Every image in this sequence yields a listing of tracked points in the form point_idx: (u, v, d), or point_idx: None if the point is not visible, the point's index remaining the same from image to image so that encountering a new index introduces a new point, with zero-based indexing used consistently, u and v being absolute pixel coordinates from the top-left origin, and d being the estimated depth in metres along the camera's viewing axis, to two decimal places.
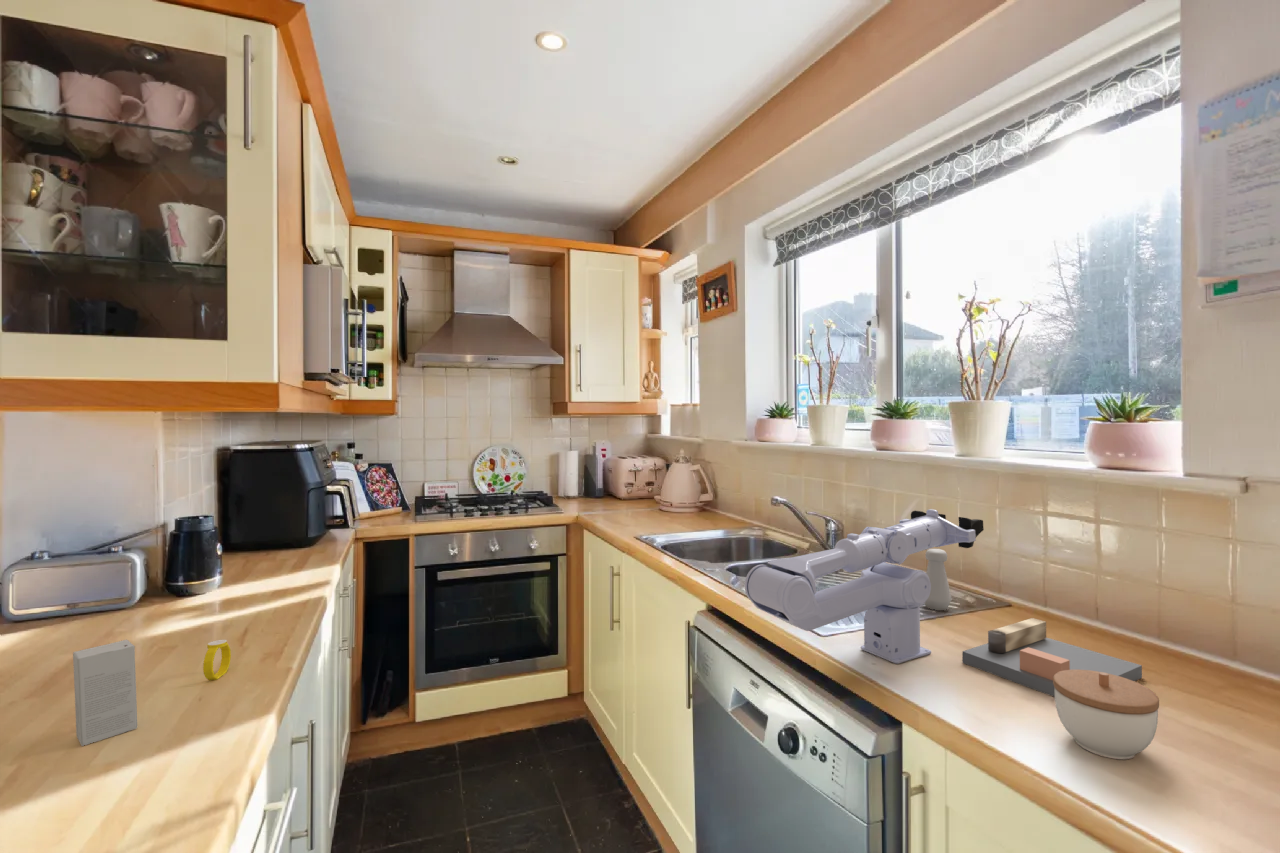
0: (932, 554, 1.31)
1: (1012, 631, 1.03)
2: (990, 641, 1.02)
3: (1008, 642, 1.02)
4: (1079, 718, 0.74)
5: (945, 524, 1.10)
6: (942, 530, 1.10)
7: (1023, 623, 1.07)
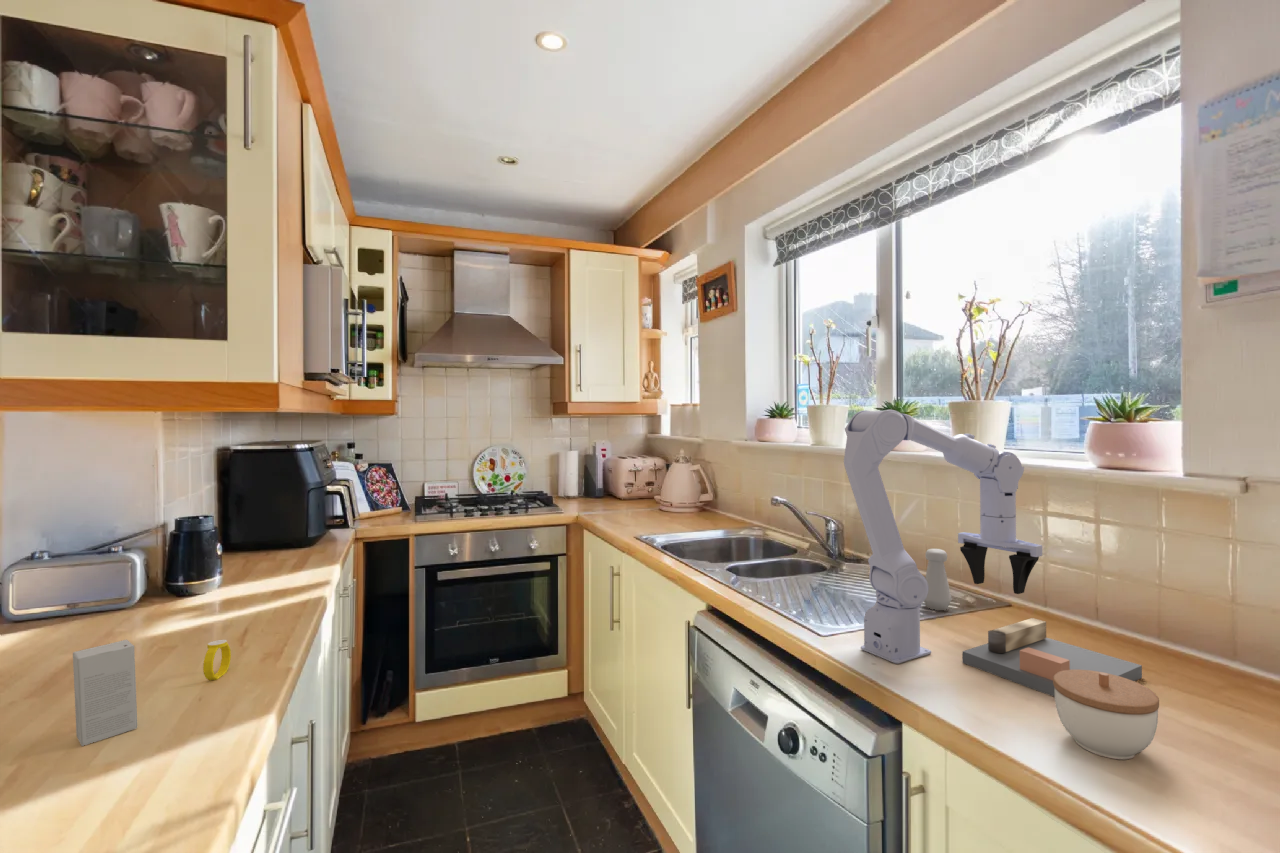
0: (932, 554, 1.31)
1: (1012, 631, 1.03)
2: (990, 641, 1.02)
3: (1008, 642, 1.02)
4: (1079, 718, 0.74)
5: (1017, 541, 1.09)
6: (1015, 536, 1.09)
7: (1023, 623, 1.07)
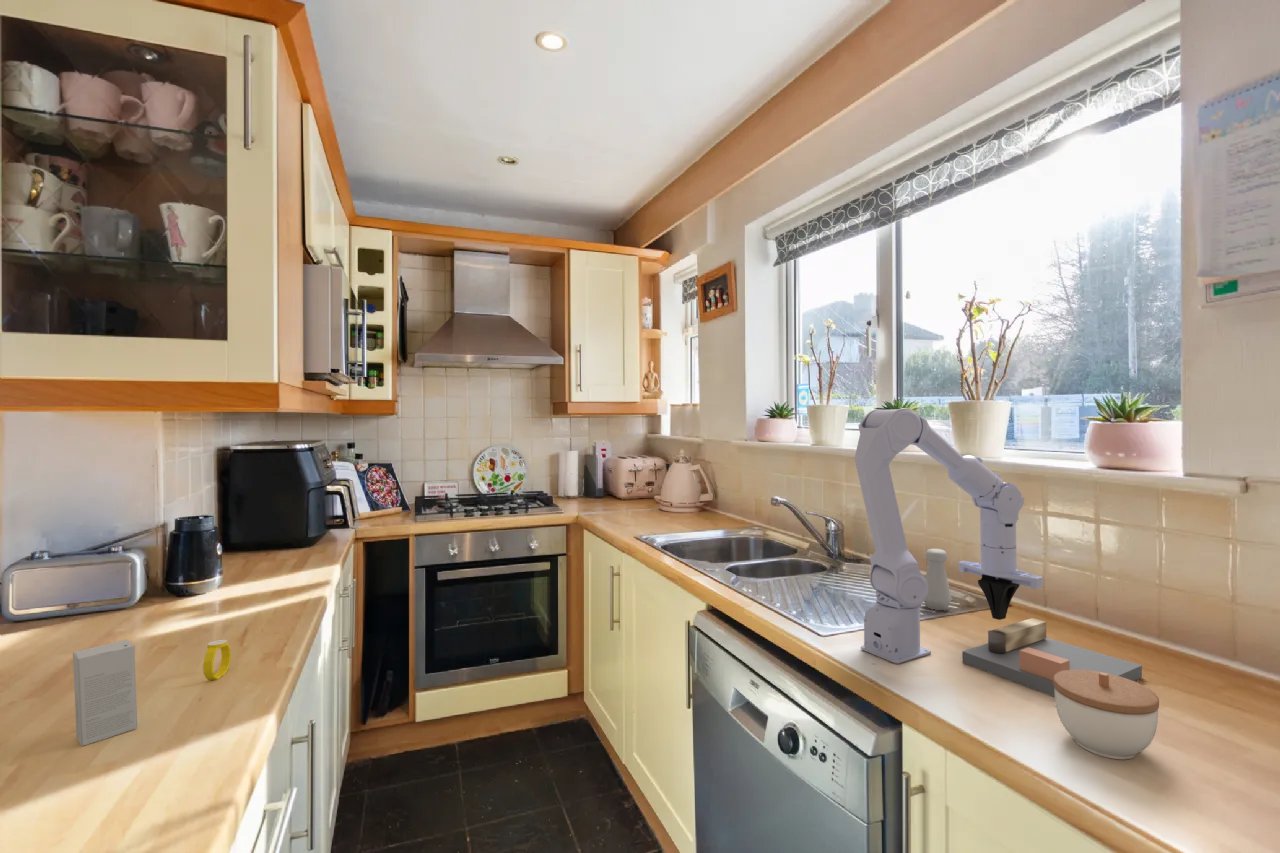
0: (932, 554, 1.31)
1: (1012, 631, 1.03)
2: (990, 641, 1.02)
3: (1008, 642, 1.02)
4: (1079, 718, 0.74)
5: (1018, 572, 1.10)
6: (1015, 566, 1.09)
7: (1023, 623, 1.07)
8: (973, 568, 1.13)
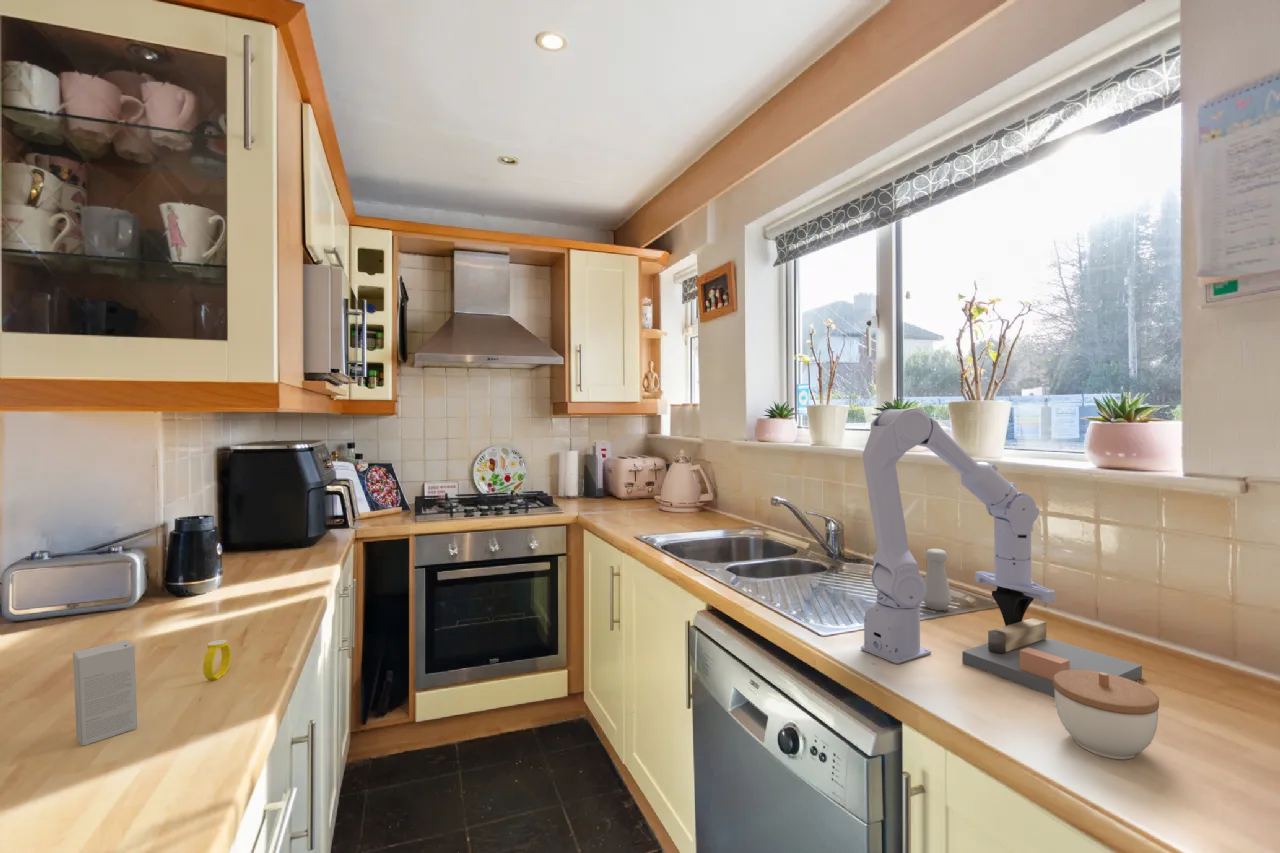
0: (932, 554, 1.31)
1: (1012, 631, 1.03)
2: (990, 641, 1.02)
3: (1008, 642, 1.02)
4: (1079, 718, 0.74)
5: (1032, 584, 1.07)
6: (1029, 579, 1.06)
7: (1023, 623, 1.07)
8: (987, 579, 1.11)
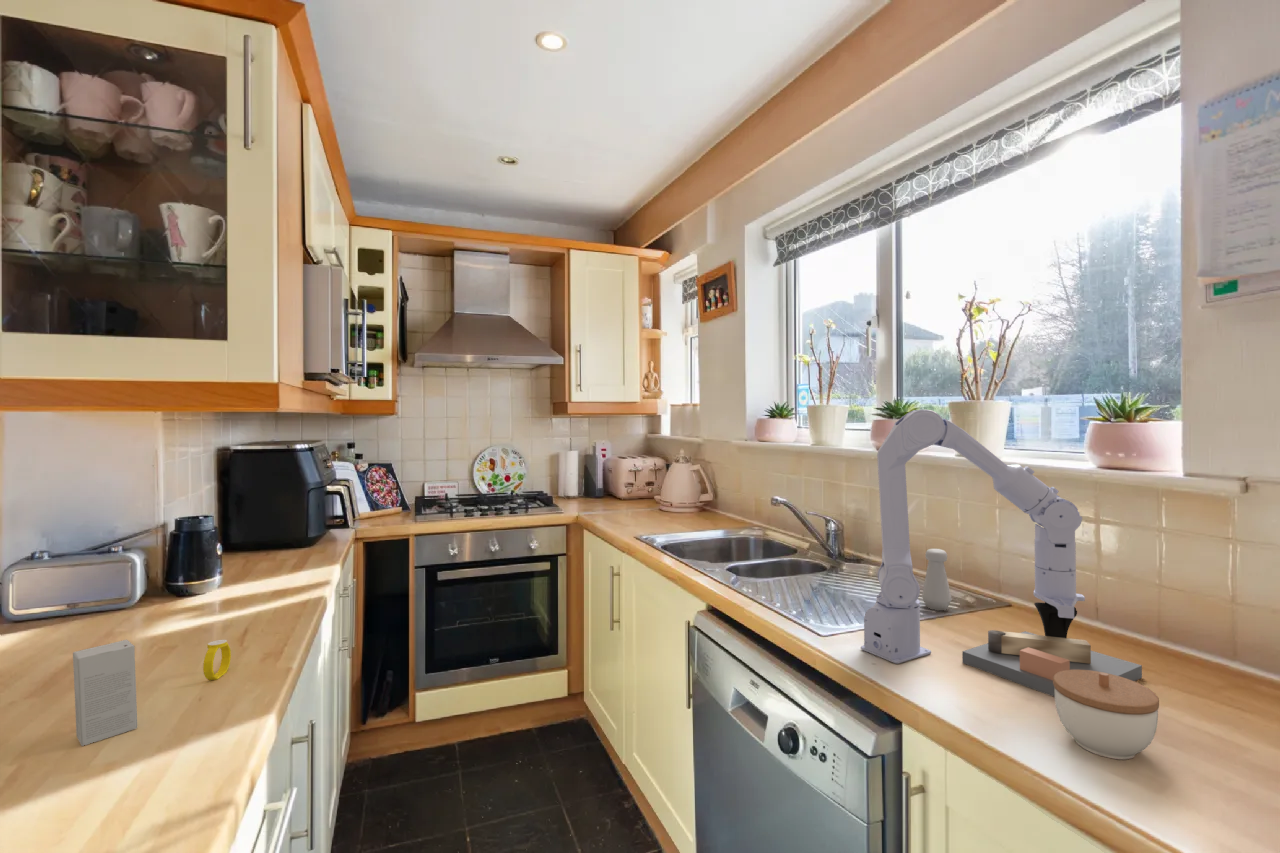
0: (932, 554, 1.31)
1: (1017, 637, 1.00)
2: None
3: (1007, 645, 1.01)
4: (1079, 718, 0.74)
5: (1070, 600, 0.98)
6: (1064, 592, 0.98)
7: (1056, 638, 1.00)
8: None
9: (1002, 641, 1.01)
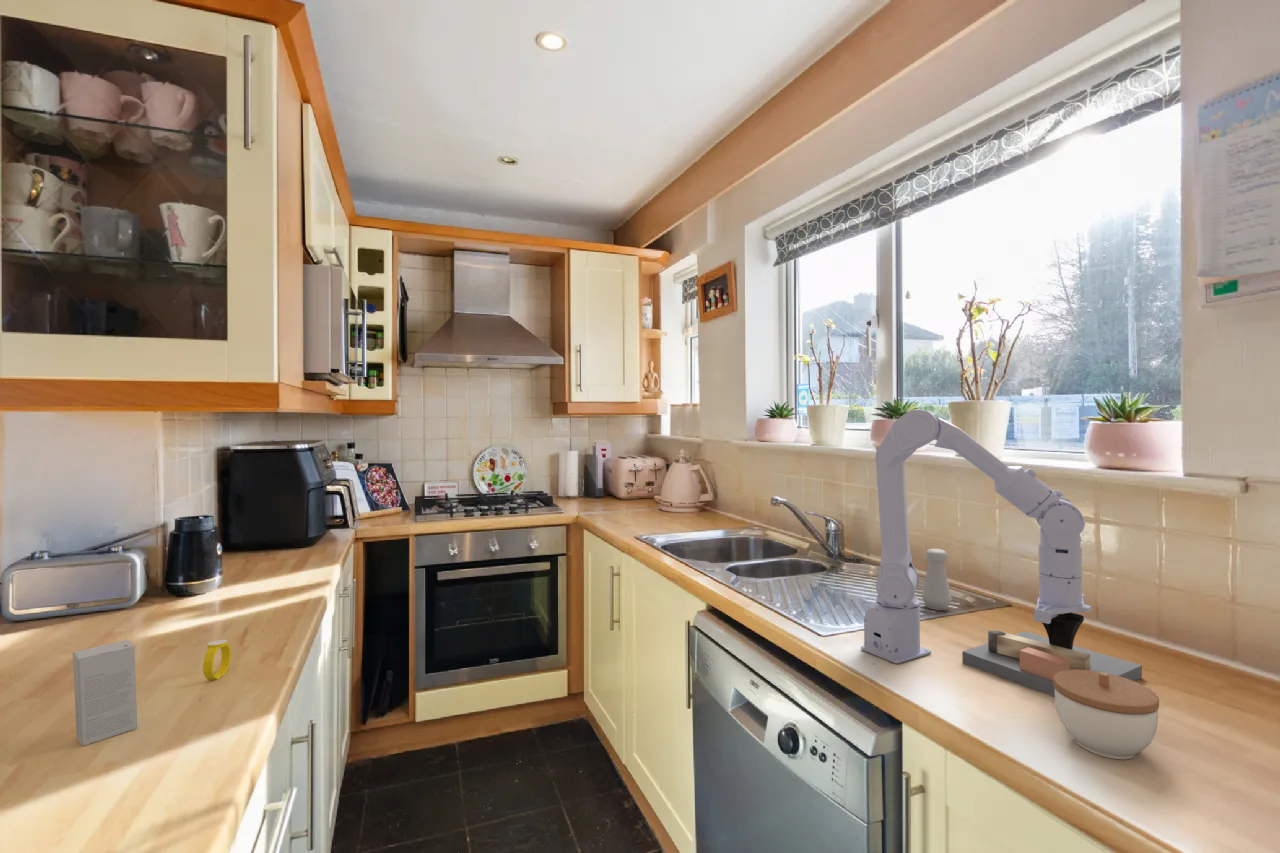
0: (932, 554, 1.31)
1: (1012, 639, 1.00)
2: None
3: (1002, 646, 1.01)
4: (1079, 718, 0.74)
5: (1065, 608, 0.93)
6: (1058, 599, 0.94)
7: (1055, 647, 0.96)
8: None
9: (997, 641, 1.01)
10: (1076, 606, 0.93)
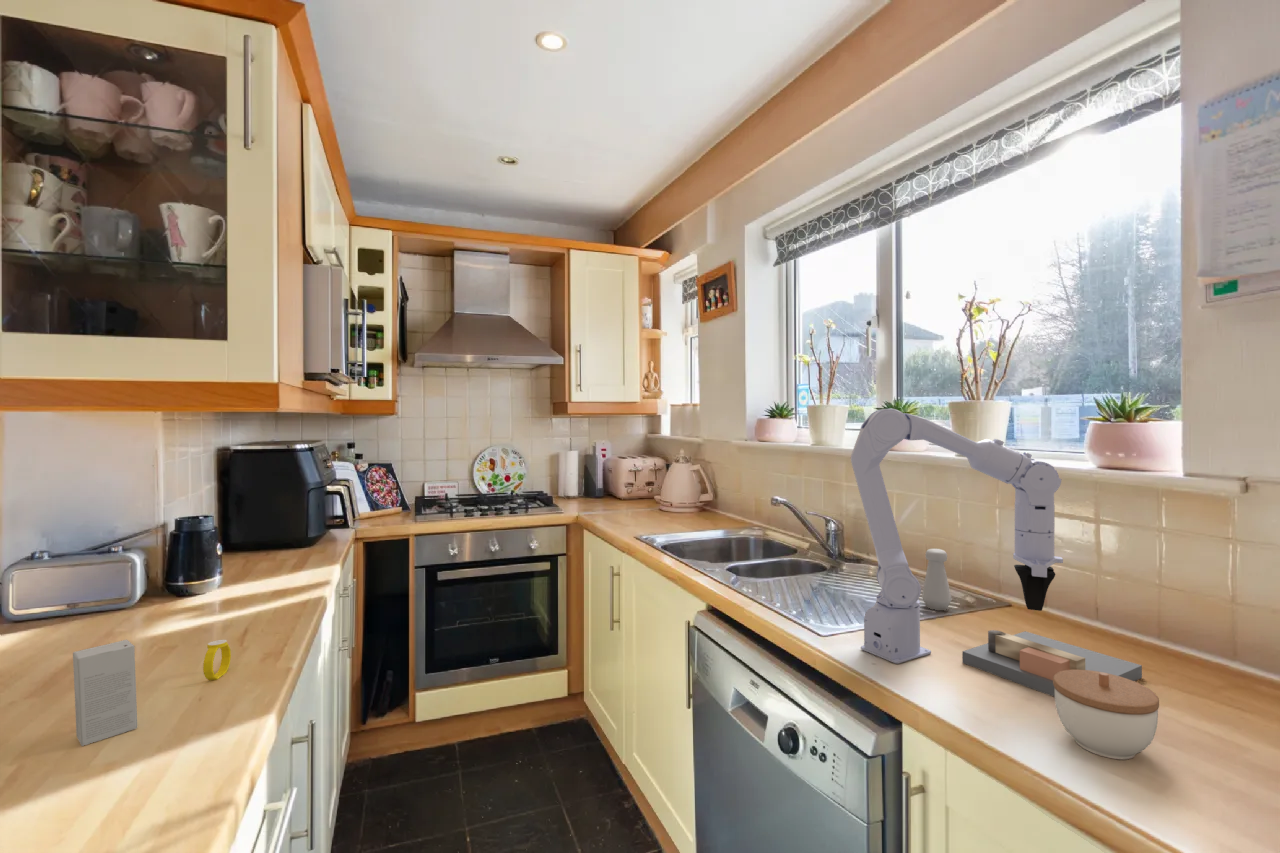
0: (932, 554, 1.31)
1: (1009, 639, 0.99)
2: None
3: (1000, 646, 1.01)
4: (1079, 718, 0.74)
5: (1047, 561, 0.99)
6: (1041, 554, 0.99)
7: (1051, 649, 0.95)
8: None
9: (996, 641, 1.01)
10: (1053, 558, 1.00)
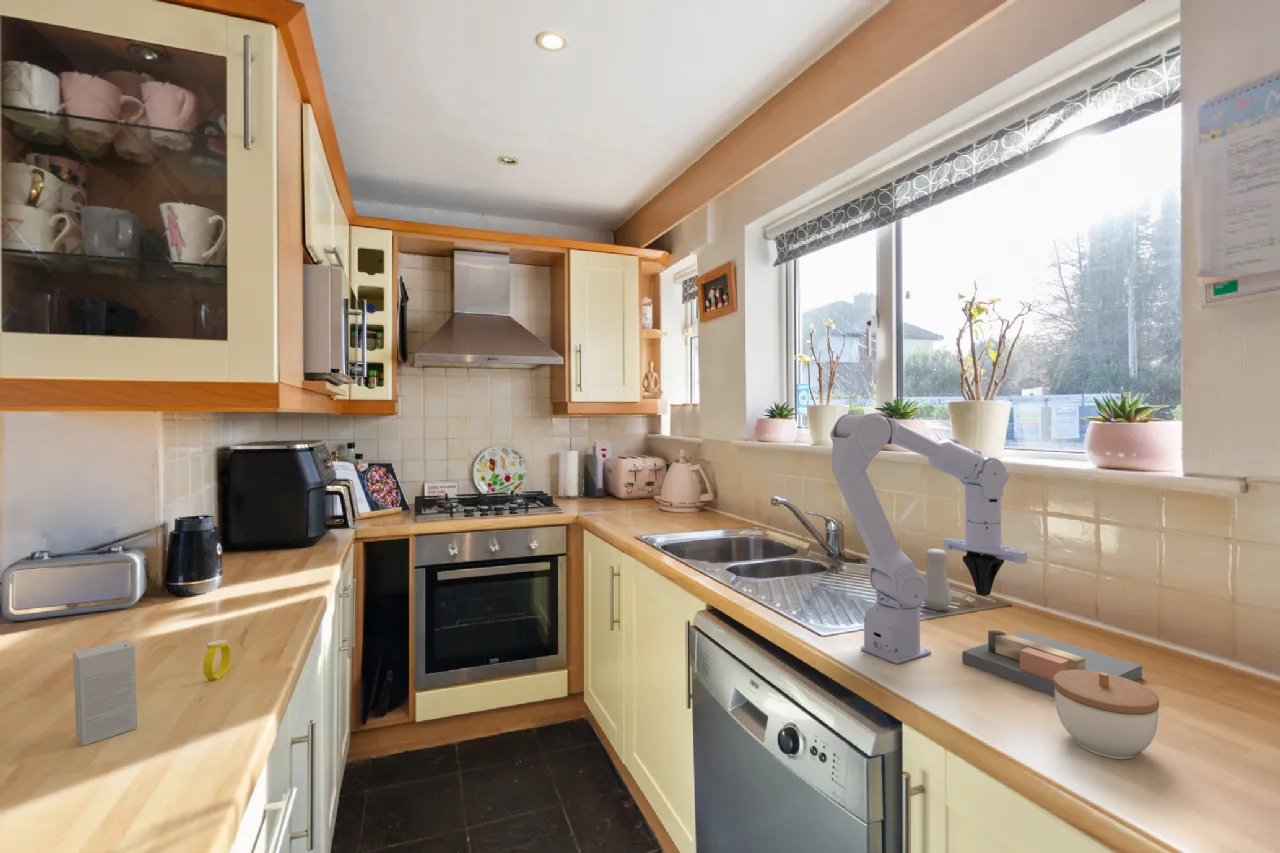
0: (932, 554, 1.31)
1: (1009, 639, 0.99)
2: None
3: (1000, 646, 1.01)
4: (1079, 718, 0.74)
5: (1002, 547, 1.09)
6: (1000, 542, 1.08)
7: (1051, 649, 0.95)
8: (958, 544, 1.13)
9: (996, 641, 1.01)
10: None
